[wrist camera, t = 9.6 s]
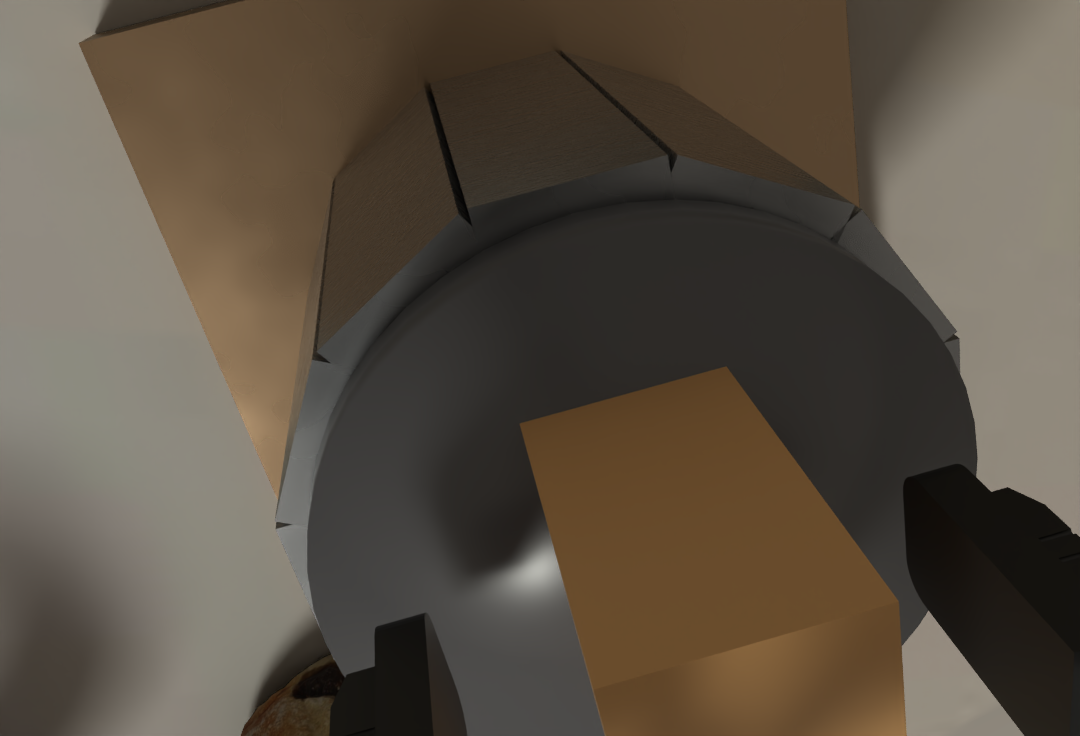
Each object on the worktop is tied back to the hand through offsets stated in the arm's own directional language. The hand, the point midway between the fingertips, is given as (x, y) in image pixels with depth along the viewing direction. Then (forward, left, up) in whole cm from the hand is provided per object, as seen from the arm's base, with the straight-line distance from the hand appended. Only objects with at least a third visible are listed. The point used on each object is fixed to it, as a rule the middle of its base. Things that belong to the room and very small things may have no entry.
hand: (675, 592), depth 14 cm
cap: (0, 0, -4) cm, 4 cm away
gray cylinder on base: (0, 0, -12) cm, 12 cm away
